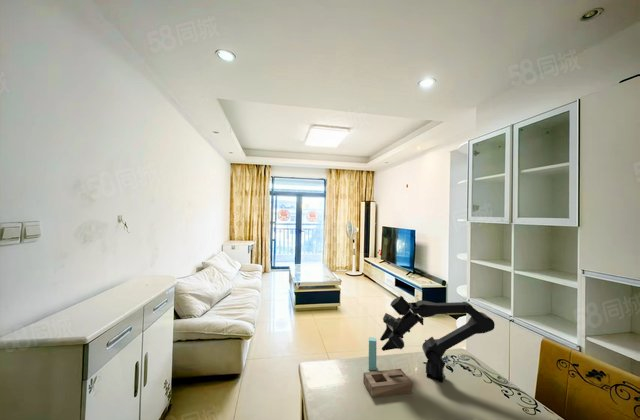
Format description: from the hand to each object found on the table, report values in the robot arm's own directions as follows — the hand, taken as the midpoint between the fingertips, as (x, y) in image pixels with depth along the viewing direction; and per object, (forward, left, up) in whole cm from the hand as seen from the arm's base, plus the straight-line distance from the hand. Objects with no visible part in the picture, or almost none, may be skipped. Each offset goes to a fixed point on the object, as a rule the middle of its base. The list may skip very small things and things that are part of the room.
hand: (381, 344), depth 112 cm
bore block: (-6, +11, -11) cm, 17 cm away
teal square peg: (+4, +2, -11) cm, 12 cm away
